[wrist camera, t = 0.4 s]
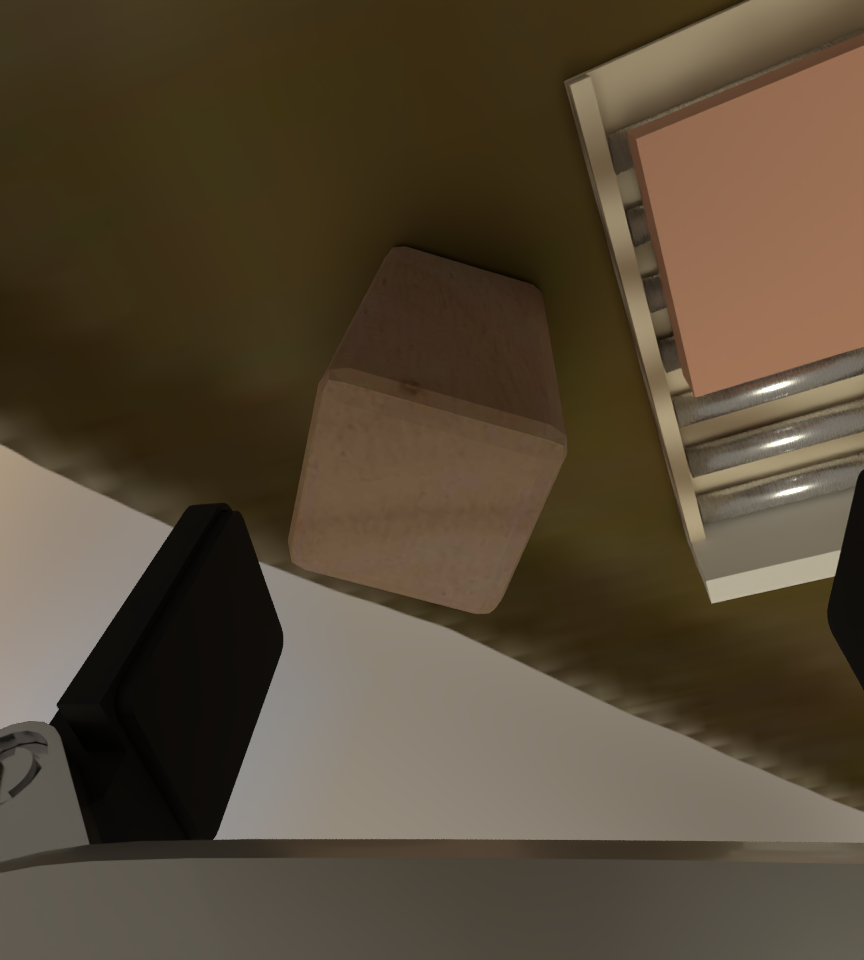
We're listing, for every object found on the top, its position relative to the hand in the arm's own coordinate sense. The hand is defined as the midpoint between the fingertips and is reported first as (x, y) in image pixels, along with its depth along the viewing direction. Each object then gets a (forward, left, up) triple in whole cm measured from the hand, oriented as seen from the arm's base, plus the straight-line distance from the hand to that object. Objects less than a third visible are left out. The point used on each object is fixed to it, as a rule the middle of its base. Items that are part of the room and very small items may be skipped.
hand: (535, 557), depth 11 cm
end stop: (+27, +12, -32) cm, 44 cm away
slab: (+6, +12, -30) cm, 33 cm away
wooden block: (+7, -7, -34) cm, 36 cm away
